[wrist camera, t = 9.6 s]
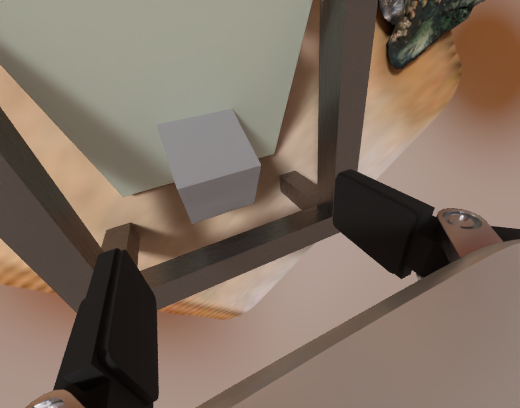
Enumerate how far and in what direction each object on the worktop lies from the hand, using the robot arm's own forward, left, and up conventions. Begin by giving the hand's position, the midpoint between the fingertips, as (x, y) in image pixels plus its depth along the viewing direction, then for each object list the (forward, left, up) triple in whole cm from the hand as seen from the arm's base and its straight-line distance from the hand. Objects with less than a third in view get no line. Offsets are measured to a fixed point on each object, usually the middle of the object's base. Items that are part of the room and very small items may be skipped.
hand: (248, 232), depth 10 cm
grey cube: (-2, 0, -10) cm, 10 cm away
